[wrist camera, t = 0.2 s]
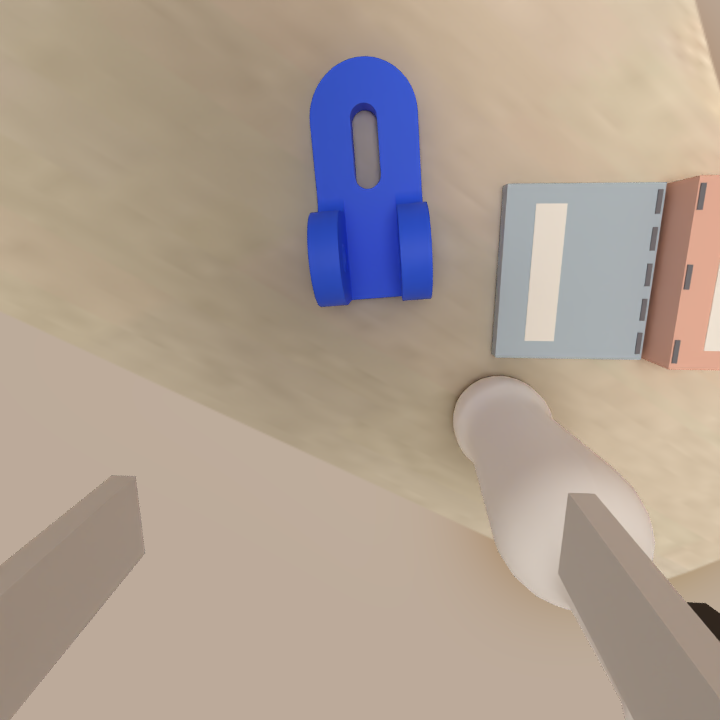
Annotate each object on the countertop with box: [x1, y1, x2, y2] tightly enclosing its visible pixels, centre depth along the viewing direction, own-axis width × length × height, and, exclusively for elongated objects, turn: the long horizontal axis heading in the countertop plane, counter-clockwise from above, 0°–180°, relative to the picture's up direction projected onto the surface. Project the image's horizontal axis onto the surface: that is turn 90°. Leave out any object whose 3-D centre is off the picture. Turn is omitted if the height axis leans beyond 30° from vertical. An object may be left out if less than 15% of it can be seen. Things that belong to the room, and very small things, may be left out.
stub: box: [641, 175, 720, 370], centre depth 35 cm, size 14×5×5 cm, turn 0°
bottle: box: [453, 376, 655, 720], centre depth 27 cm, size 8×8×30 cm
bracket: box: [307, 56, 433, 307], centre depth 33 cm, size 18×8×9 cm, turn 5°
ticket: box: [492, 182, 667, 360], centre depth 37 cm, size 14×12×2 cm
